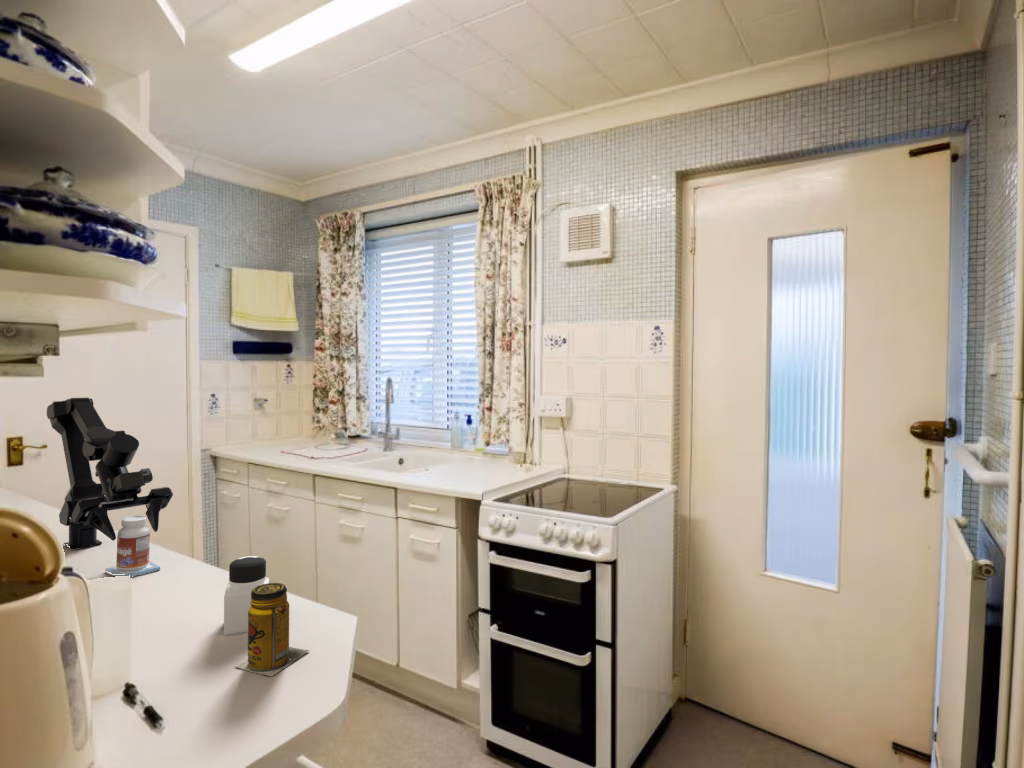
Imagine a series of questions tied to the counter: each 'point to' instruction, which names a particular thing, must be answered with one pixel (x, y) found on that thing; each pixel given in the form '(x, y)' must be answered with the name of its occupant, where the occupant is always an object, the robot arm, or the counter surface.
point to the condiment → (269, 631)
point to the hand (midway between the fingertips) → (136, 534)
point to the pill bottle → (133, 544)
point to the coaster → (149, 568)
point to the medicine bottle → (242, 592)
